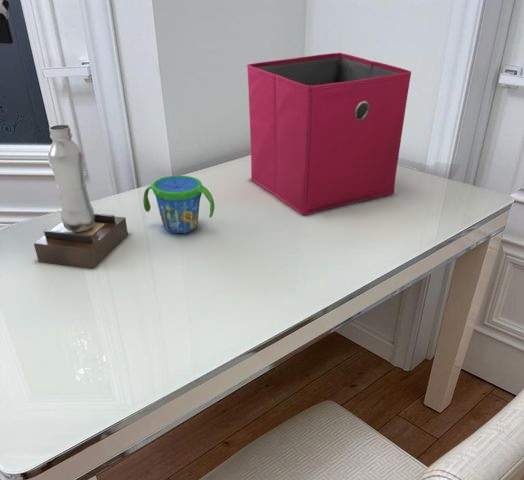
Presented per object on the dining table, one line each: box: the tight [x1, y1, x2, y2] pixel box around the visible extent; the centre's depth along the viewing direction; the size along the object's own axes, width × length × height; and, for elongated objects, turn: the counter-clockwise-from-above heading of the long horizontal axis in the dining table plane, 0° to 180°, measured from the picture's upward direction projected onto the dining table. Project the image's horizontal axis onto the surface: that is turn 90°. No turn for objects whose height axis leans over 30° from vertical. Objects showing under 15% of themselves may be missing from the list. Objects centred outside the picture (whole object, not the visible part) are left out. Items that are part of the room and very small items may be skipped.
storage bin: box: [246, 52, 412, 217], centre depth 134 cm, size 28×29×28 cm
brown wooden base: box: [33, 212, 129, 269], centre depth 114 cm, size 12×16×6 cm
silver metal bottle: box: [47, 124, 96, 232], centre depth 107 cm, size 6×7×20 cm
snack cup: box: [142, 175, 215, 235], centre depth 120 cm, size 16×10×10 cm
